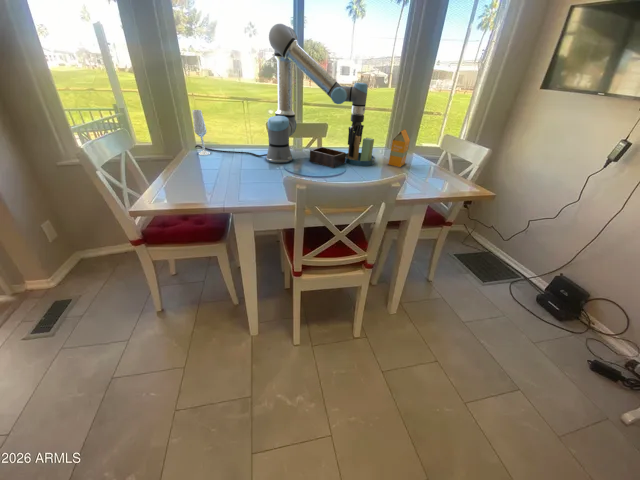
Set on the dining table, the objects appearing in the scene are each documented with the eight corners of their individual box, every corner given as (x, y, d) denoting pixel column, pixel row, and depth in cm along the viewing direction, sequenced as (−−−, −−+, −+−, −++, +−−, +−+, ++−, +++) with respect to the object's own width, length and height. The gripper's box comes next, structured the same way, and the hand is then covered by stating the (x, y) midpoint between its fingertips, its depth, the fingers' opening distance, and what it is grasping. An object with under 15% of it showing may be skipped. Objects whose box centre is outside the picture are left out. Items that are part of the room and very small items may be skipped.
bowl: (337, 162, 164) (337, 156, 162) (353, 156, 177) (354, 150, 175) (364, 169, 155) (365, 163, 153) (379, 162, 168) (380, 156, 166)
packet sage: (359, 162, 163) (363, 138, 156) (363, 161, 166) (366, 137, 159) (367, 164, 161) (370, 140, 153) (370, 163, 164) (374, 139, 156)
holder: (309, 161, 163) (310, 150, 159) (321, 157, 171) (322, 146, 167) (333, 168, 154) (334, 156, 150) (344, 163, 162) (345, 152, 158)
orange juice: (404, 164, 167) (412, 130, 156) (400, 167, 161) (407, 132, 150) (392, 161, 170) (399, 128, 160) (387, 165, 164) (394, 130, 153)
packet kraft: (347, 159, 168) (349, 135, 160) (351, 158, 171) (353, 135, 163) (354, 161, 165) (357, 137, 158) (357, 160, 168) (360, 136, 161)
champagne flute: (208, 155, 163) (200, 111, 150) (196, 154, 163) (188, 110, 150) (212, 152, 168) (205, 109, 155) (201, 151, 168) (193, 109, 155)
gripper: (355, 116, 146) (350, 159, 159) (370, 113, 158) (365, 154, 171) (343, 114, 150) (340, 157, 163) (359, 112, 162) (355, 151, 174)
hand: (353, 155), depth 167 cm, fingers closed on packet kraft, 4 cm apart
